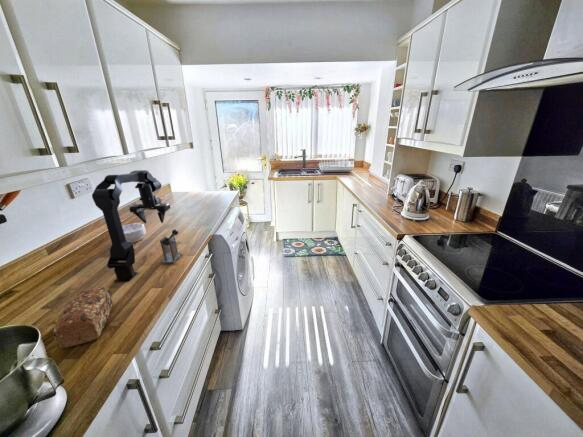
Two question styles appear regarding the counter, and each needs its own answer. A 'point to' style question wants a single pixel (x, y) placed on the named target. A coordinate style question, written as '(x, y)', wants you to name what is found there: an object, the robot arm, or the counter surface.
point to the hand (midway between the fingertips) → (154, 223)
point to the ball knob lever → (171, 236)
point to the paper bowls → (134, 232)
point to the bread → (83, 317)
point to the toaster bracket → (169, 257)
